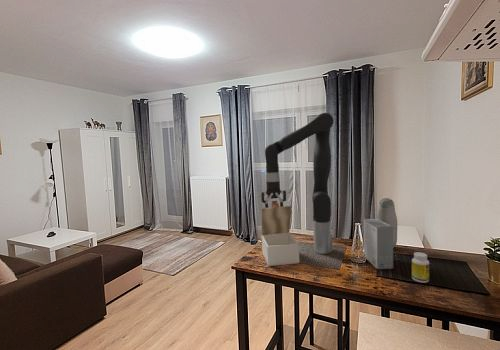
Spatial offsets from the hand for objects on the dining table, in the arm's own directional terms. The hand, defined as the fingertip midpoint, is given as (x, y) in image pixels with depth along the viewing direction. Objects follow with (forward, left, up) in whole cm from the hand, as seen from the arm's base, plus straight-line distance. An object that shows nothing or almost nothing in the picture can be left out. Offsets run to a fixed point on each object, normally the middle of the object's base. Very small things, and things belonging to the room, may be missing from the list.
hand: (274, 209), depth 147 cm
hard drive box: (-45, +27, -24) cm, 58 cm away
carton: (0, +10, -24) cm, 26 cm away
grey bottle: (-60, +12, -24) cm, 66 cm away
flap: (0, +4, -6) cm, 7 cm away
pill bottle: (-52, +46, -24) cm, 73 cm away
